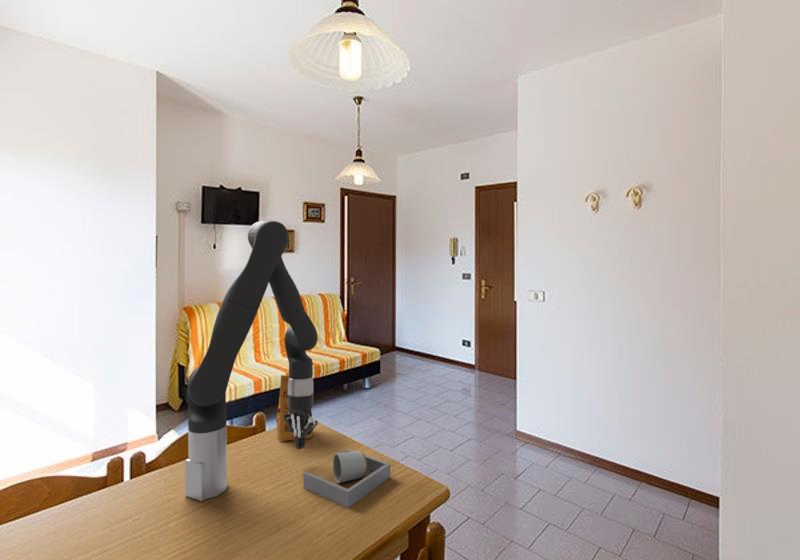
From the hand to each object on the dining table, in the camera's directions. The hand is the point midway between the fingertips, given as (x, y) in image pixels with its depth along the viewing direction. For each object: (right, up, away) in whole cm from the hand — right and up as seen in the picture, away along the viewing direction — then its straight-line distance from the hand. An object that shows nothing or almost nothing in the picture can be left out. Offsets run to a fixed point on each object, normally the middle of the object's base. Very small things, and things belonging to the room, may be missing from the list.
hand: (300, 447), depth 125 cm
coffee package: (-7, -4, +20) cm, 22 cm away
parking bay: (+16, -5, -10) cm, 19 cm away
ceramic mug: (+15, -6, -7) cm, 18 cm away
